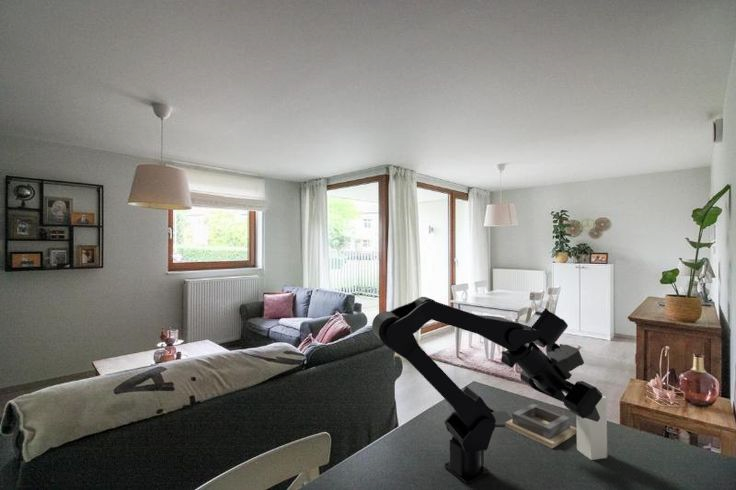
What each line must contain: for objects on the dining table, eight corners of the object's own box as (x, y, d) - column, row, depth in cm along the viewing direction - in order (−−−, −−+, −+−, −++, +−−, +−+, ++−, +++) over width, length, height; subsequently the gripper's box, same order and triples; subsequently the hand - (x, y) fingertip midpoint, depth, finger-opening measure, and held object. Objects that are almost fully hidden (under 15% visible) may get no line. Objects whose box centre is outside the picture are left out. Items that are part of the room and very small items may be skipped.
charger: (591, 459, 75) (590, 398, 75) (576, 449, 79) (576, 390, 79) (607, 457, 76) (606, 396, 76) (592, 447, 80) (591, 389, 80)
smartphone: (452, 411, 97) (507, 410, 97) (452, 414, 97) (507, 413, 97) (458, 424, 90) (517, 424, 90) (458, 428, 90) (518, 427, 90)
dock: (552, 448, 80) (552, 432, 80) (505, 426, 90) (505, 412, 90) (577, 432, 86) (577, 418, 86) (531, 413, 96) (531, 400, 96)
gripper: (592, 346, 67) (642, 399, 69) (530, 325, 86) (571, 367, 88) (557, 391, 66) (609, 444, 68) (501, 360, 84) (543, 402, 86)
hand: (580, 409), depth 77 cm, fingers open, 9 cm apart
